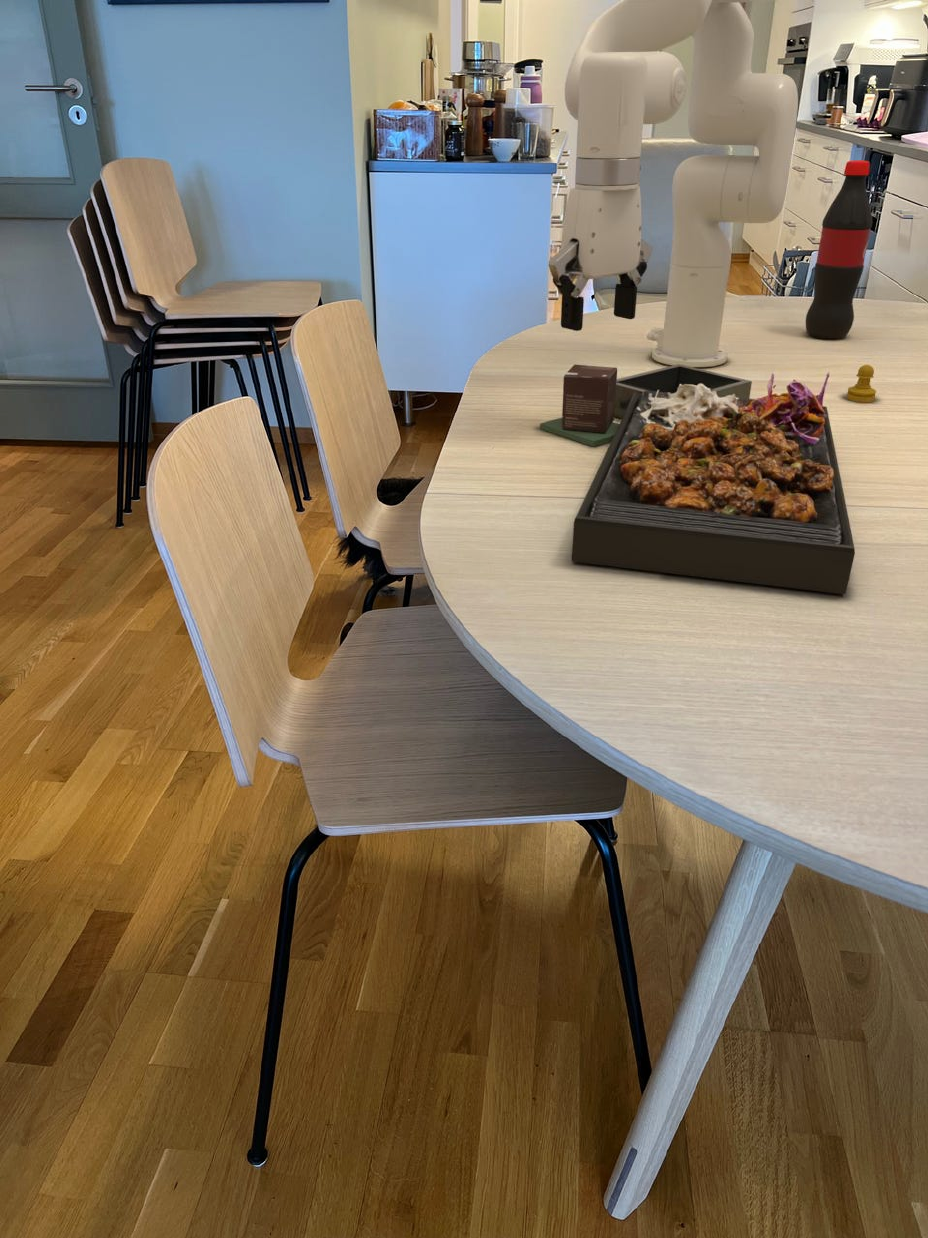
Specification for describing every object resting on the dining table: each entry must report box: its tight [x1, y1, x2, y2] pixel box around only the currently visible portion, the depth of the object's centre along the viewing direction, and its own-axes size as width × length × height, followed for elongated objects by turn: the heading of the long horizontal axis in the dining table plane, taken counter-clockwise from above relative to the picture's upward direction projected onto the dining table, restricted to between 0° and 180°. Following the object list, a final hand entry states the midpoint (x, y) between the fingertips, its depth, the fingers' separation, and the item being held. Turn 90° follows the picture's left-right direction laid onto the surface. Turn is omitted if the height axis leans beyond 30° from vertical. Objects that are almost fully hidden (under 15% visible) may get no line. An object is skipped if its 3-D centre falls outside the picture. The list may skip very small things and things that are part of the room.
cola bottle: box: [805, 159, 873, 340], centre depth 168 cm, size 8×8×30 cm
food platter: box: [571, 371, 856, 595], centre depth 101 cm, size 45×25×10 cm, turn 164°
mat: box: [539, 417, 620, 448], centre depth 123 cm, size 10×8×1 cm
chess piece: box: [846, 364, 877, 403], centre depth 136 cm, size 4×4×5 cm
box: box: [561, 364, 618, 433], centre depth 121 cm, size 6×6×7 cm
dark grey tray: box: [614, 364, 753, 420], centre depth 130 cm, size 13×16×4 cm
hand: (598, 322), depth 117 cm, fingers open, 9 cm apart
